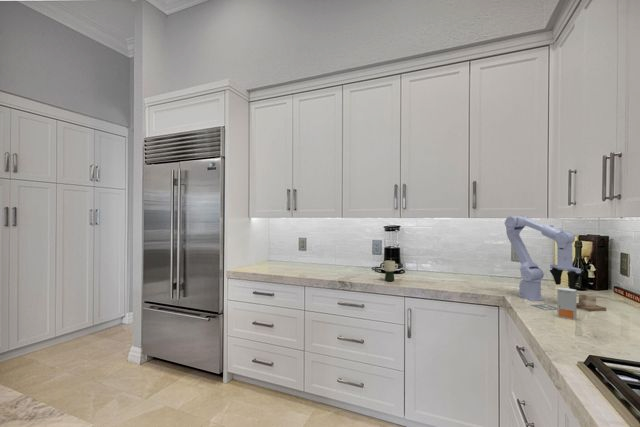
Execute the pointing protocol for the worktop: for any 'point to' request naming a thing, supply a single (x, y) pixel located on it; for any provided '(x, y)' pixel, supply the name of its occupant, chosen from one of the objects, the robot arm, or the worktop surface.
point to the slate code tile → (545, 307)
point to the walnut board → (591, 308)
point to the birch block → (587, 300)
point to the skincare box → (566, 303)
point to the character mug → (389, 269)
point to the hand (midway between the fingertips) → (565, 286)
